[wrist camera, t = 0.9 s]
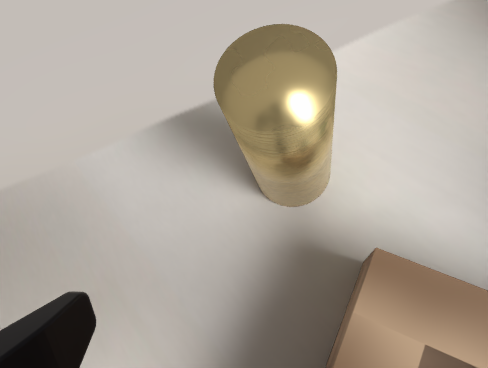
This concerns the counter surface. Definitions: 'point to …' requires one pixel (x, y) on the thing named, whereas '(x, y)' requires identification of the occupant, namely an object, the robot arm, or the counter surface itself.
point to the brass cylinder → (281, 108)
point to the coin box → (411, 319)
